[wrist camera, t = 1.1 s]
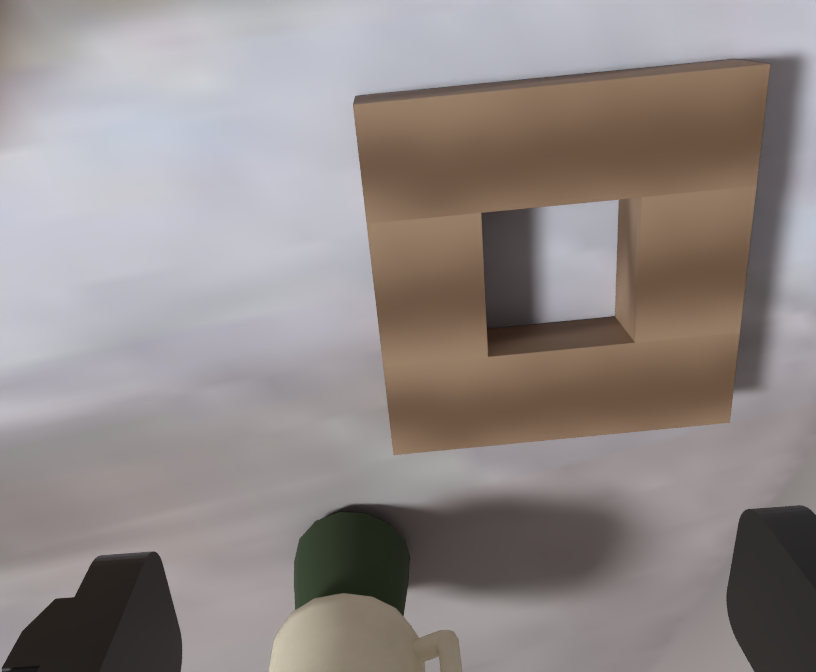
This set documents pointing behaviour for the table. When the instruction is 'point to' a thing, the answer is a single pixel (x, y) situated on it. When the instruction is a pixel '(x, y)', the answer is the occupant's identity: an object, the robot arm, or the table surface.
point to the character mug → (355, 604)
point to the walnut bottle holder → (550, 186)
